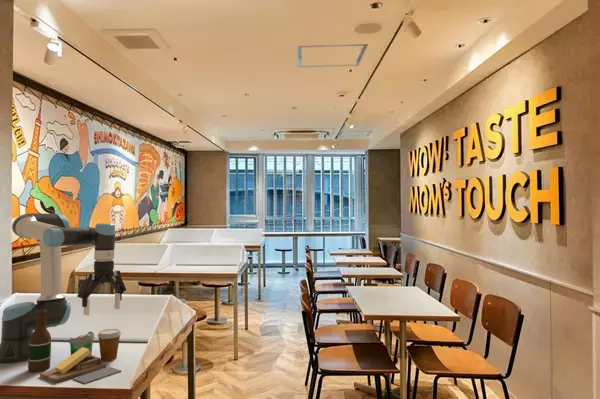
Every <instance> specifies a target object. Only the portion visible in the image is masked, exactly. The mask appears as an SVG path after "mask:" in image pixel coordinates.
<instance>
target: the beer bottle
mask: <svg viewBox="0 0 600 399" xmlns="http://www.w3.org/2000/svg"><path fill="white" fill-rule="evenodd" d="M36 313H37V318H36V327H35V330H34V331H33V333H32V335H31V337H30V340H29V355H28V359H27V370H28V372H29V373H42V372H46V371H48V370H50V368H51V358H52V357H51V355H52V354H51V353H52V336H51V333H50V332H49V330H48V328H47V327H46V313H47V311H46V310H38V311H37V312H36Z"/></svg>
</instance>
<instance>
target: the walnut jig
mask: <svg viewBox="0 0 600 399" xmlns="http://www.w3.org/2000/svg"><path fill="white" fill-rule="evenodd" d="M104 368H107V363H104V362H102V360H101V357H98V356H95V355H92V354H91V355H88V356H87V357H85V358H84V359H83V360H81V361H80V362H79V363H77V364H76V365H75V366H73V367H72V368H71V369H69V370H68V371H67V372H65V373H64V374H62V373H60V372H57V371H56V369H55V368H52V369H48V370H45V371H42V372H39V378H41V379H43V380H46V381H49V382H50V383H53V382H54V383H53V384H55V383H57V384H59V382H60V383H62V381H63V382H66V381H68V380H73V378H76V377H79V376H82V375H85V374H88V373H91V372H94V371H97V370H101V369H104Z"/></svg>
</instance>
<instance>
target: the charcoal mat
mask: <svg viewBox="0 0 600 399" xmlns="http://www.w3.org/2000/svg"><path fill="white" fill-rule="evenodd" d="M118 373H122V370H121V369H118V368H116V367H112V366H108V367H107V366H106V368H103V369H100V370H97V371H94V372H91V373H88V374H85V375H82V376H78V377H75V378H72V380H73V381H75V382H78V383H81V384H83V385H87V384H89V383H93V382H96V381H99V380H101V379H104V378H106V377H107V378H108V377H111V376H112V375H113V376H114V375H115V374H118Z"/></svg>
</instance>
